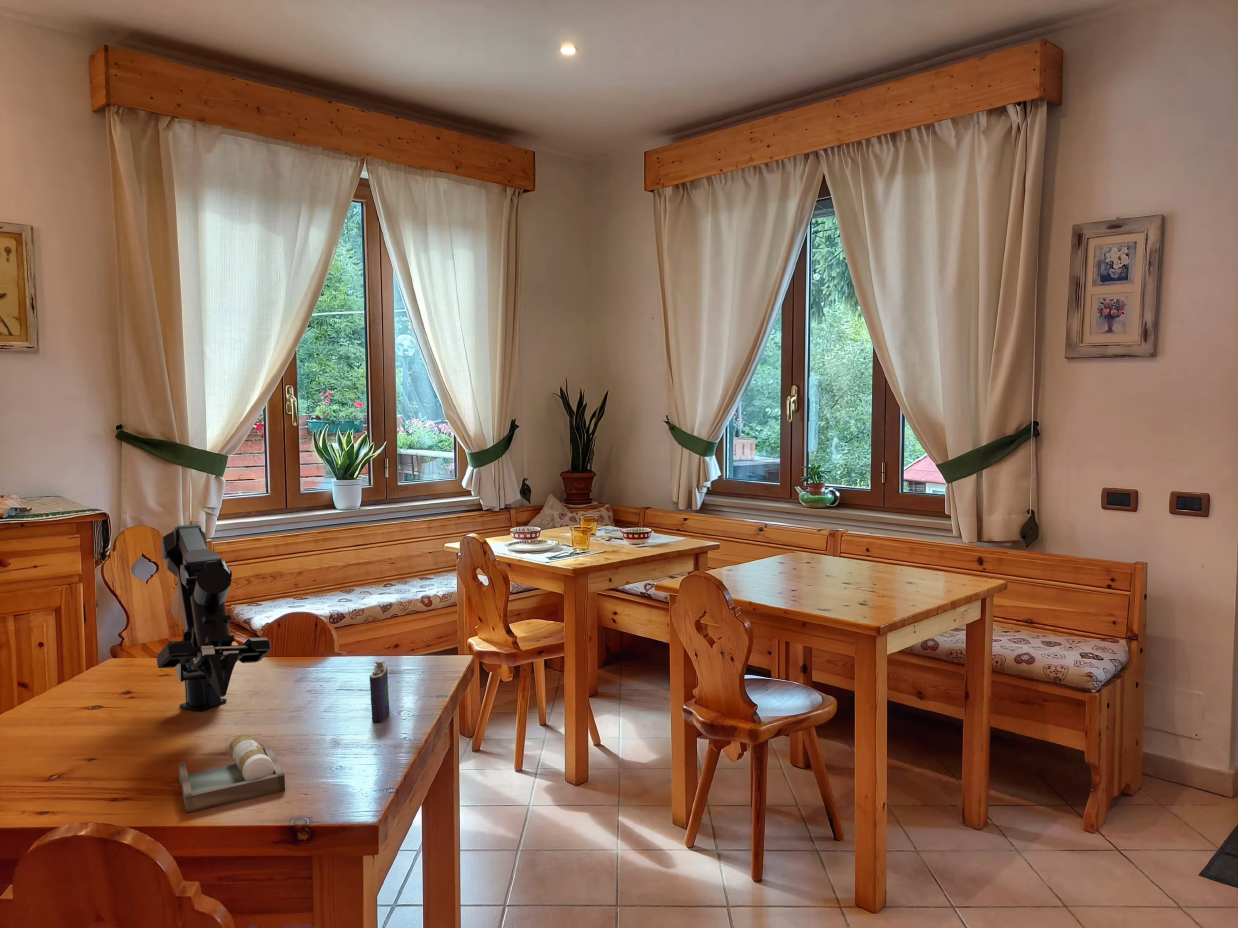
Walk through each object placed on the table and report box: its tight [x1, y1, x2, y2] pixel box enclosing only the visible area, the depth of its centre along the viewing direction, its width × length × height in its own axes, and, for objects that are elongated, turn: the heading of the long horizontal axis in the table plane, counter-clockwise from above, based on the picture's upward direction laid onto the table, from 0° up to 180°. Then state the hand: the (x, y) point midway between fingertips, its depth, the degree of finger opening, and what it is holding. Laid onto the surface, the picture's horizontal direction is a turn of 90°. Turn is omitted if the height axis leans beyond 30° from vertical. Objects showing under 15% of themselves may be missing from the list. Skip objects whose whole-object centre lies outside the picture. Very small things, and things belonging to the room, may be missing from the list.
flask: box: [369, 661, 390, 724], centre depth 168 cm, size 9×3×11 cm, turn 8°
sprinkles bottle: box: [228, 733, 274, 781], centre depth 142 cm, size 5×5×13 cm
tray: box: [177, 744, 286, 814], centre depth 138 cm, size 14×14×2 cm
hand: (222, 696), depth 155 cm, fingers closed
